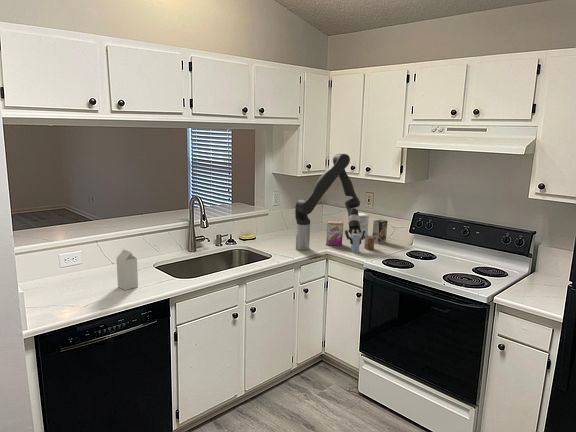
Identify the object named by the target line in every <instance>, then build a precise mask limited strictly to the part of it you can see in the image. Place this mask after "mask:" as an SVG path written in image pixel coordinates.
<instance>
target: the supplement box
mask: <svg viewBox="0 0 576 432" xmlns="http://www.w3.org/2000/svg"><path fill="white" fill-rule="evenodd" d="M358 215H359V221H360V229H361V231H365V234H364V238H365V237H368V235H369V234H368V232H369V217H370V215H369V214H367V213H363V212H358ZM360 236H361V237H362V234H361V233H360Z"/></svg>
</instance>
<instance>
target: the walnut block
mask: <svg viewBox="0 0 576 432" xmlns="http://www.w3.org/2000/svg"><path fill="white" fill-rule="evenodd" d="M374 240H375V238H373V237H372V236H365V237H364V249H365V250H367V251H373V250H375V243H374Z"/></svg>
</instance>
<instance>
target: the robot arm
mask: <svg viewBox="0 0 576 432" xmlns="http://www.w3.org/2000/svg"><path fill="white" fill-rule="evenodd" d="M350 162H351V158H350V155H348V154H346V153H337V154H335V155H334V156H333V158H332V163H333V166H332V167H331V168H329V169H328V170H327V171H324V173H323V174H322V175H321V176H320V177H319V178H318V179H317V180H316V182H315V183H314V186H313V191H312V193H311V195H309V197H308V198H307V199H299V200H297V202H296V204H295V207H294V208H295V209H294V211H295V212H294V215H295V221H296V224H295V225H296V227H295V229H296V230H295V250H299V251H307V250H309V249H310V241H311V240H310V239H311V238H310V236H311V219H310V218H309V216H308V215H310V214H311V213H312V212H313V211H314V209H315V207H316V206H317V204H318V203H319V201H320V200H321V199H322V197H323V196H324V195H325V193H326V192H327V191H328V190H329V188H330V187H331V186H332V185H333V183H334V182H335V180H337V178H338V177H339V180H340V182H341V186H342V189H343V193H344V196H346V197H351V198H347V199H345V200H344V206H345V208H346V211H347V215H348V217H347V218H348V230H346V229H345V230H344V234H345V237H346V239H347V240H349V244H350V245H353V240H352V233H356V234H360V233H361V234H362V237H361V236H360V243H359V246H361V245H362V240H364V239H365V237H364V234H365V231H361V229H360V221H359V215H358V213H359V210H358V209H357V208H359V207H360V206H361V201H360V199H359V197H358V195H357V194H356V192H355V188H354V186H353V182H352V180H351V177H350V176H349V175H348V173H347V171H346V168H347V167H348V166H349V165H350ZM349 234H350V235H349Z"/></svg>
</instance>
